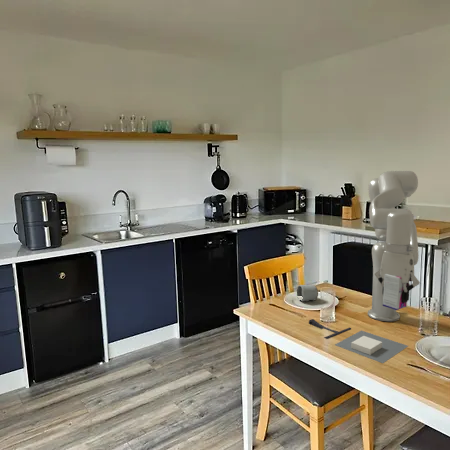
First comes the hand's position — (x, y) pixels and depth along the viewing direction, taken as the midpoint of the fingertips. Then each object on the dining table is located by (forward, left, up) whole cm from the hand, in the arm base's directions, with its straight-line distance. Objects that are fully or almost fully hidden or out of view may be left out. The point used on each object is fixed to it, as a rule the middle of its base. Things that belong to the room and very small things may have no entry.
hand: (395, 299), depth 138 cm
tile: (+5, -5, -16) cm, 17 cm away
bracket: (+5, -25, -18) cm, 31 cm away
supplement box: (0, 0, -3) cm, 3 cm away
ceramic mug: (-18, -51, -18) cm, 57 cm away
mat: (+6, -5, -17) cm, 19 cm away
